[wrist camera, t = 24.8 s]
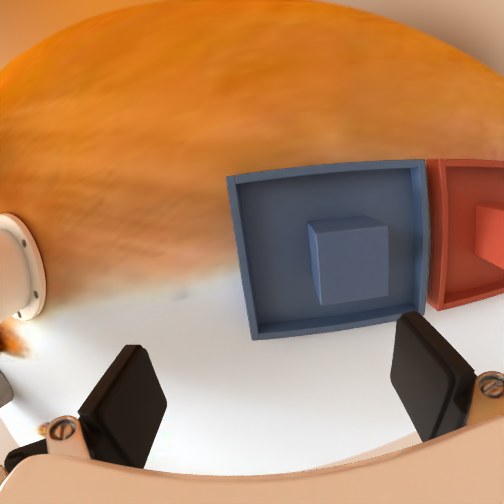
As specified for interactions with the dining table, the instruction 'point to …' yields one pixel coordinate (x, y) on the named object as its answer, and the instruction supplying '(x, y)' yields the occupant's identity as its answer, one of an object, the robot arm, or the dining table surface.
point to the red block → (490, 233)
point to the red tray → (461, 231)
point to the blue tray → (297, 244)
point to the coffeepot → (5, 391)
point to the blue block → (349, 258)
